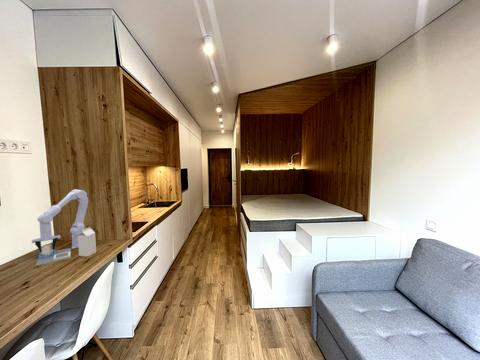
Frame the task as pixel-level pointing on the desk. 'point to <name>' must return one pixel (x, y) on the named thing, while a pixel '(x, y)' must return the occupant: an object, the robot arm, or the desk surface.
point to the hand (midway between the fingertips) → (47, 250)
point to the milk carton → (87, 242)
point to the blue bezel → (46, 255)
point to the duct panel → (55, 256)
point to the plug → (47, 249)
